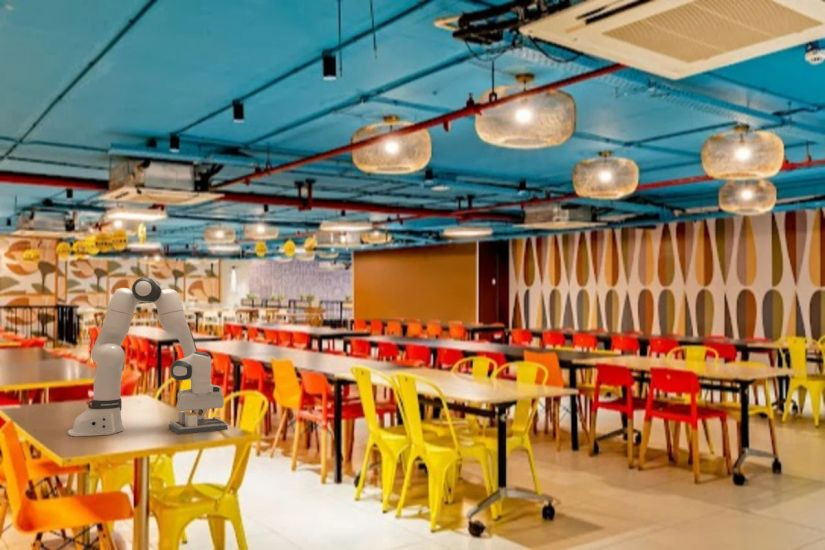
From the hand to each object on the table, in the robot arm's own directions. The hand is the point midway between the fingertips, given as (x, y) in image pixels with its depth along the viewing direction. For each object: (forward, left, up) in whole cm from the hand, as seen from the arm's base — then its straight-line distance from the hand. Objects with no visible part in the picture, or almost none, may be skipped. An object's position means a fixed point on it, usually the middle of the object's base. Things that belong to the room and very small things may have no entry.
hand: (200, 419), depth 329 cm
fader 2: (-4, 0, -2) cm, 5 cm away
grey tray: (0, +4, -5) cm, 6 cm away
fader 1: (-5, +8, -2) cm, 9 cm away
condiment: (+5, +23, -5) cm, 24 cm away
